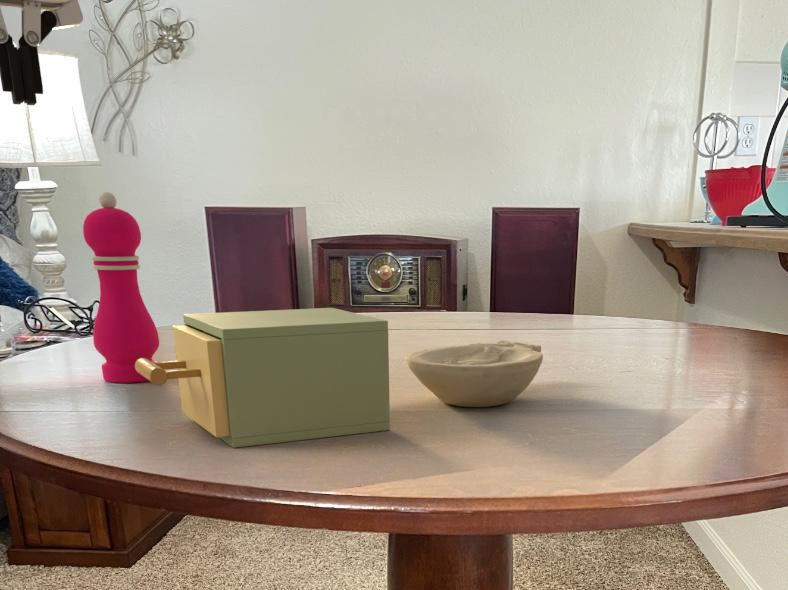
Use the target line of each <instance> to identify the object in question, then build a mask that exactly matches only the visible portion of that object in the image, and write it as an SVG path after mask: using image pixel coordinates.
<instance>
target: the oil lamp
mask: <svg viewBox="0 0 788 590" xmlns="http://www.w3.org/2000/svg"><path fill="white" fill-rule="evenodd" d="M543 359H544V355H543V353H542V346H541V345H540V344H533V343H525V342H518V341H507V340H499V341H497V342H494V343H491V342H489V343H482V342H477V343H470V344H464V345H453V346H441V347H432V348H427V349H422V350H419V351H415V352H412V353H411V354H409V355H407V356H406V357H405V362H406V365H407V366H408V369H409V370H410V371H411V372H412V374H413V375H414V376H415V377H416V379H418V381H419V382H420V383H421V384H422V385H423V386H424V387H425V388H427V390H429V391H430V392H431V393H432V394H433V395H434V396H435V397H436V398H437V399H438V400H439V401H440V402H443V403H445V404H448V405H451V406H457V407H464V408H489V407H496V406H501V405H505V404H507V403H510V402H511V401H513V400H514V399H516V398H518V397H519V396H520V395H521V394H522V393H523V392H524V391H525V390H526V389H527V388H528V387H529V386H530V385H531V383H532V382H533V380H534V379H535V377H536V376H537V374H538V372H539V370H540V367H541V365H542V362H543Z"/></svg>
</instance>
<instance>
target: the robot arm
mask: <svg viewBox="0 0 788 590" xmlns="http://www.w3.org/2000/svg"><path fill="white" fill-rule="evenodd" d="M79 3H80V2H79V0H0V82H1V83H0V84H1V90H2V92H5V93H7V92H8V93H11V99H12V104H13V105H21V104H23V103H24V104H26V106H35V105H37V101H38V100H37V95H43V94H44V87H43V80H42V79H43V78H42V72H41V66H40V65H41V64H40V59H39V58H40V57H39V49H38V47H39V46H40V45H41V44H42V43H43V41H45V39H46V38H47V37H48V36H49V35H50V34H51V32H52V31H53V30H59V29H65V28H66V29H67V28H72V27H78V26H80V24H82V22H83V20H84V14H83V12H82V9H81V6H80V4H79ZM1 7H8V8H15V9H16V8H17V9H21V11H20V12H21V20H20V21H21V36H20V38H19V39H18V40H17V41H18V47H17V46H15V44H14V43H13V42H14V41H13V37H12V36H11V35H10V34H9V33H8V30H7V29H8V28H7V25H6V23H5V19H4V15H3V12H2V8H1Z"/></svg>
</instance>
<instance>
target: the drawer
mask: <svg viewBox="0 0 788 590" xmlns="http://www.w3.org/2000/svg"><path fill="white" fill-rule="evenodd" d="M172 334H173V343H174V351H175V360H170V361H156V362H151V361H149V360H148V359H145V358H140V359H138V360H137V361H136V363H135V369H136V371H137V372H138V373H140V374H141V375H142V376H144V377H145V378H147V379H148V380H149V381H148V382H151V383H152V384H154V385H156V386H162V385H164V384H165V383H166V382H167V380H174V379H178V386H179V387H178V388H179V396H180V405H181V406H180V407H181V412H182V413H183V414H184V415H185V416H187V417H188V418H189V419H191V420H192V421H193V422H195V423H196V424H197V425H199V426H200V427H201V428H203V429H204V430H206V431H207V432H208V433H210V434H211V435H212V436H214V437H215V438H219V437H225V436H230V430H229V419H228V408H227V397H226V387H225V376H224V365H223V354H222V343H221V338H219V337H216V336H214V335H212V334H209V333H207V332H204V331H203V333H202V332H200V331H198V330H195V329H193V328H190V327H188V326H186V325H184V324H183V325H172Z"/></svg>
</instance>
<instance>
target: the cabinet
mask: <svg viewBox="0 0 788 590" xmlns="http://www.w3.org/2000/svg"><path fill="white" fill-rule="evenodd" d="M182 318H183V325H186V326H188V327H190V328H193V329H195V330H198V331H200V332H202V333H203V331H204V332H207V333H209V334H212V335H214V336H216V337H219V338H221V343H222V354H223V365H224V376H225V387H226V397H227V408H228V419H229V430H230V436H225V437H218V438H219V439H220V440H222V441H224V442H225V443H226V444H228V445H229V446H231V447H232V448H234V449H235V448H245V447H255V446H261V445H263V446H264V445H270V444H271V445H272V444H278V443H288V442H289V443H290V442H297V441H298V442H299V441H306V440H315V439H323V438H331V437H332V438H333V437H338V436H339V437H341V436H350V435H358V434H367V433H376V432H384V431H390V430H391V422H390V421H391V420H390V419H391V410H390V409H391V408H390V407H391V405H390V403H391V402H390V358H389V357H390V356H389V351H390V350H389V321H388V320H387V319H382V318H377V317H374V316H370V315H365V314H361V313H357V312H353V311H352V312H351V311H347V310H343V309H339V308H335V307H320V308H318V307H315V308H297V309H295V308H294V309H274V310H272V309H271V310H250V311H249V310H248V311H227V312H226V311H225V312H224V311H223V312H207V313H205V312H204V313H203V312H202V313H184V314H183V315H182Z"/></svg>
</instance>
